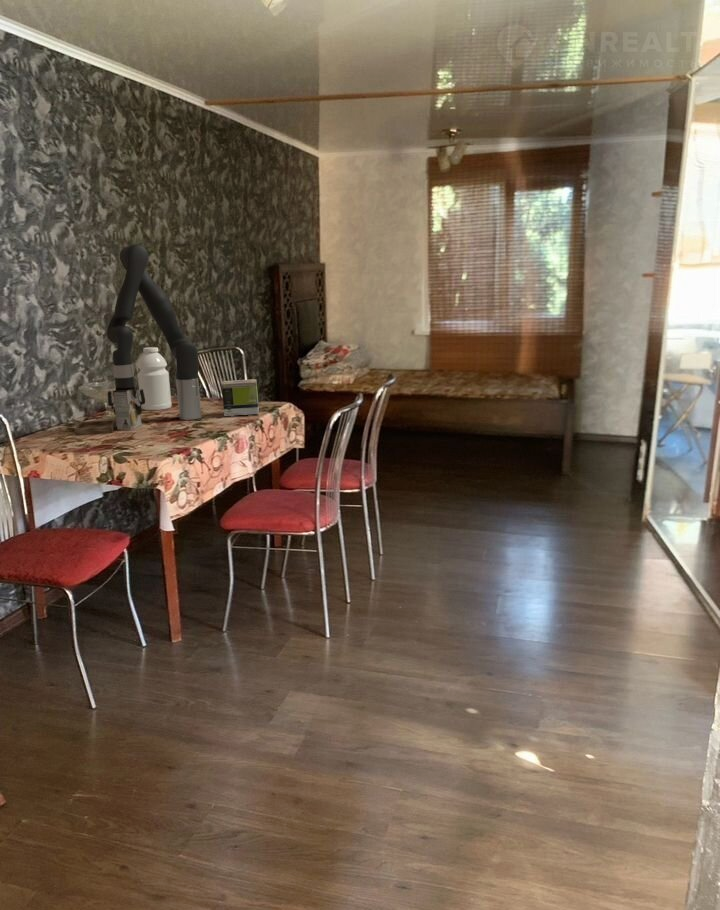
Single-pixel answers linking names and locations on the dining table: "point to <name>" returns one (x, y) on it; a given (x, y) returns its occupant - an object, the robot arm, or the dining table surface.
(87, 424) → the walnut tray
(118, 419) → the coffee box
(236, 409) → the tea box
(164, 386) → the bottle
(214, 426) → the dining table surface
